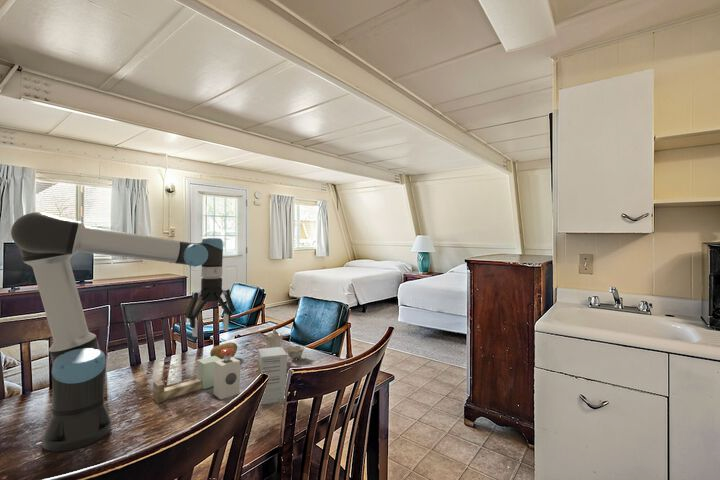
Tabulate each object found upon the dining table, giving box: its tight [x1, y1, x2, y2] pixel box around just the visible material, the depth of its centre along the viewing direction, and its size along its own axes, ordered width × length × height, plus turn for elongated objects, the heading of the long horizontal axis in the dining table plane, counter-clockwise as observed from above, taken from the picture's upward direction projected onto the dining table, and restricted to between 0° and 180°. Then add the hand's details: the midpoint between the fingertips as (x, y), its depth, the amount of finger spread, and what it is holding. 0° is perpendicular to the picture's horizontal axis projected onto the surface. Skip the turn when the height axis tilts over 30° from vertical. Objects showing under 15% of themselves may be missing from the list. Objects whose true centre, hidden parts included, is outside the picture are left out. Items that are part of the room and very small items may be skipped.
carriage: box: [196, 356, 222, 390], centre depth 133 cm, size 7×6×10 cm
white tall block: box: [213, 356, 241, 400], centre depth 126 cm, size 7×6×12 cm
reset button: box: [221, 348, 234, 363], centre depth 126 cm, size 4×4×4 cm
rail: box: [152, 378, 203, 404], centre depth 129 cm, size 26×5×6 cm, turn 137°
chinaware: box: [265, 328, 305, 361], centre depth 156 cm, size 28×17×17 cm, turn 168°
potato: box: [209, 341, 238, 359], centre depth 159 cm, size 10×14×8 cm
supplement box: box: [257, 346, 288, 406], centre depth 124 cm, size 10×9×17 cm
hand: (210, 333), depth 133 cm, fingers open, 11 cm apart
